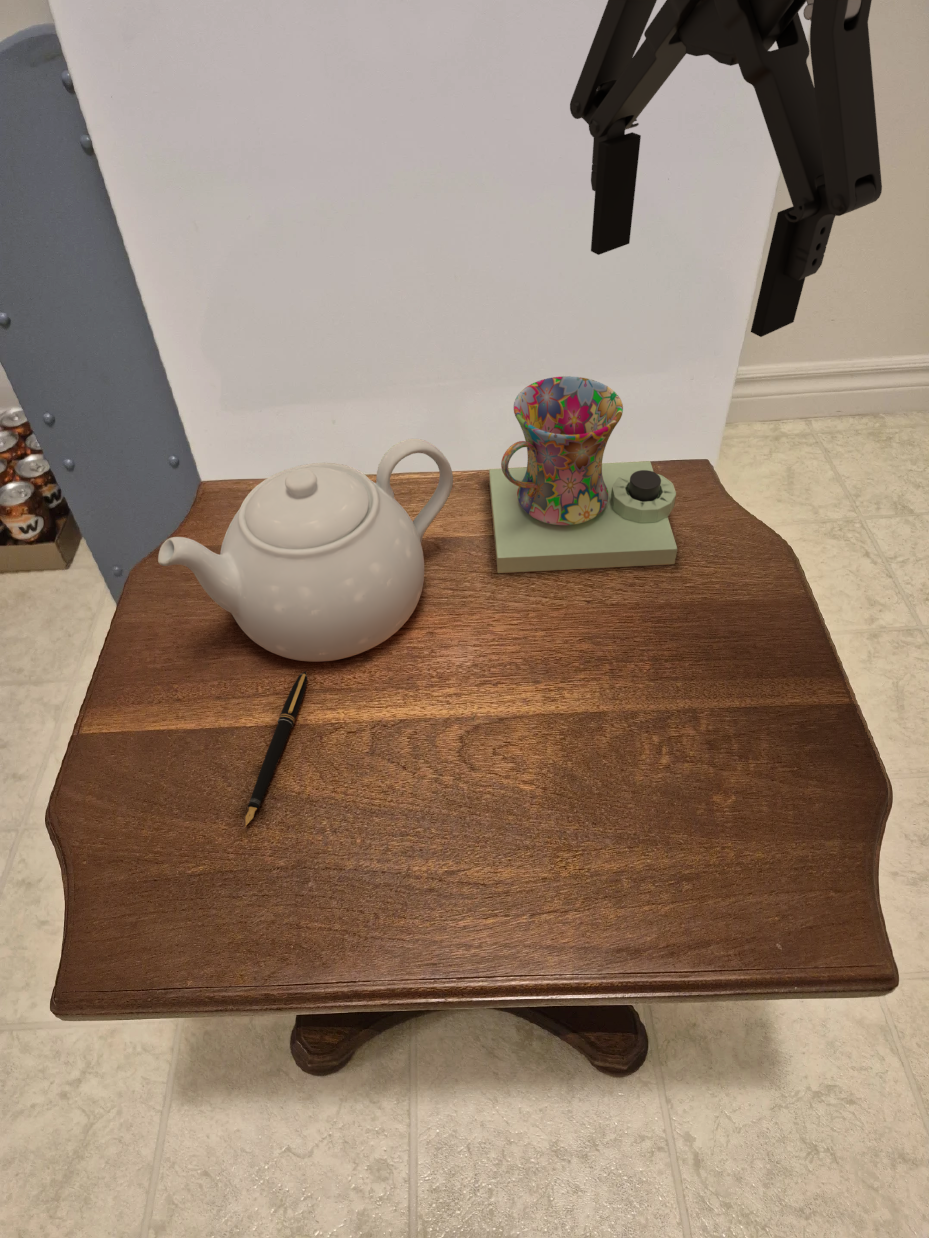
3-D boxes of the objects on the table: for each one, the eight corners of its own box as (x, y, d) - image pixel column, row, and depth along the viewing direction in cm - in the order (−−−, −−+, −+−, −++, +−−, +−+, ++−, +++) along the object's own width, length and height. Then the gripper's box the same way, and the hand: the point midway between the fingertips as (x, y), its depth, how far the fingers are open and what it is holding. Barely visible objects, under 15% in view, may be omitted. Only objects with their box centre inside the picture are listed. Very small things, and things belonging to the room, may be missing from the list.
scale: (656, 475, 85) (661, 446, 83) (683, 563, 76) (690, 534, 74) (489, 484, 85) (488, 455, 83) (497, 573, 76) (497, 544, 74)
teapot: (403, 694, 67) (386, 570, 57) (192, 658, 70) (140, 535, 61) (459, 541, 79) (452, 416, 69) (276, 516, 83) (245, 395, 73)
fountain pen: (255, 834, 59) (250, 823, 58) (239, 832, 59) (234, 821, 58) (313, 676, 69) (310, 664, 68) (300, 675, 69) (296, 663, 68)
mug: (563, 460, 84) (569, 364, 76) (632, 504, 79) (646, 406, 71) (470, 511, 79) (466, 414, 72) (537, 562, 74) (541, 464, 66)
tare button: (655, 482, 79) (657, 469, 78) (661, 501, 77) (663, 487, 76) (625, 484, 79) (627, 470, 78) (631, 502, 77) (632, 489, 76)
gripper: (1102, -197, 30) (901, 345, 46) (627, -210, 45) (596, 206, 60) (979, -178, 28) (809, 392, 43) (514, -199, 42) (512, 235, 57)
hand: (684, 285), depth 52 cm, fingers open, 13 cm apart
